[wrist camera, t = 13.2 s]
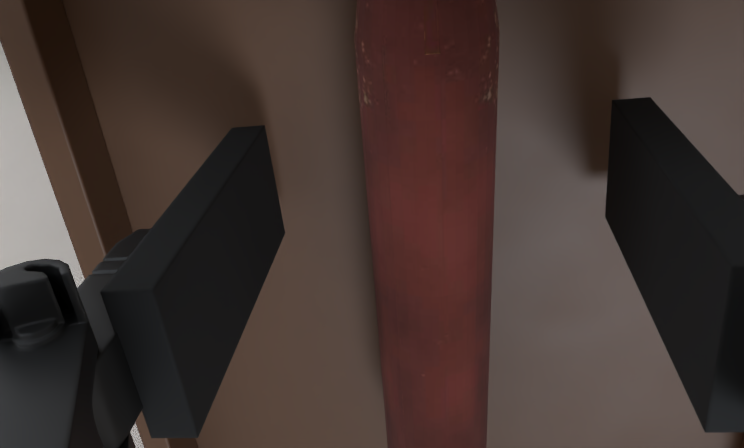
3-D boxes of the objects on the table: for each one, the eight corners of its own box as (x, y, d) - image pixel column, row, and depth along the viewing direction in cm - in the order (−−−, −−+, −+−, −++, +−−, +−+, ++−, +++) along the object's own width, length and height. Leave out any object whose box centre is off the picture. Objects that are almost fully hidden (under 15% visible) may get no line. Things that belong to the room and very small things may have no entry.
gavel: (642, 614, 16) (246, 594, 18) (604, 460, 20) (282, 452, 21) (1008, -774, 6) (-106, -597, 7) (774, -535, 9) (96, -449, 10)
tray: (-135, -544, 11) (-235, -618, 10) (1031, -807, 9) (1164, -963, 7) (207, 527, 23) (189, 577, 22) (743, 531, 21) (769, 587, 19)
